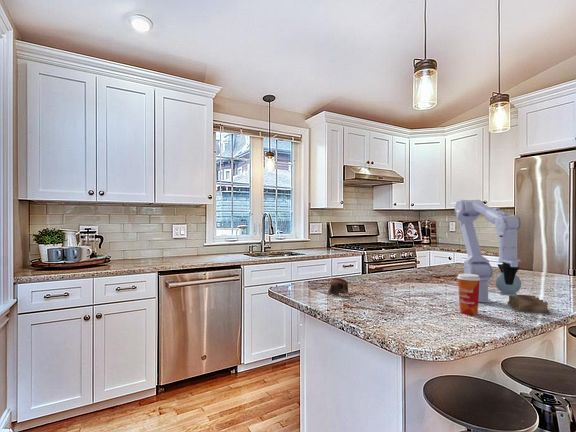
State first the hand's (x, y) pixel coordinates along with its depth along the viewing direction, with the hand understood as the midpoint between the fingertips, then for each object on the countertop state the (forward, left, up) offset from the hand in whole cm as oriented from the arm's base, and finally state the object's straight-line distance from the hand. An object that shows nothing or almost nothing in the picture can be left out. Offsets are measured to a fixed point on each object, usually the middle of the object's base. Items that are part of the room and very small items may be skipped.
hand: (508, 284), depth 124 cm
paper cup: (-14, -6, -11) cm, 19 cm away
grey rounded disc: (0, 0, -4) cm, 4 cm away
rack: (+9, +8, -10) cm, 16 cm away
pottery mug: (-65, +11, -11) cm, 67 cm away
